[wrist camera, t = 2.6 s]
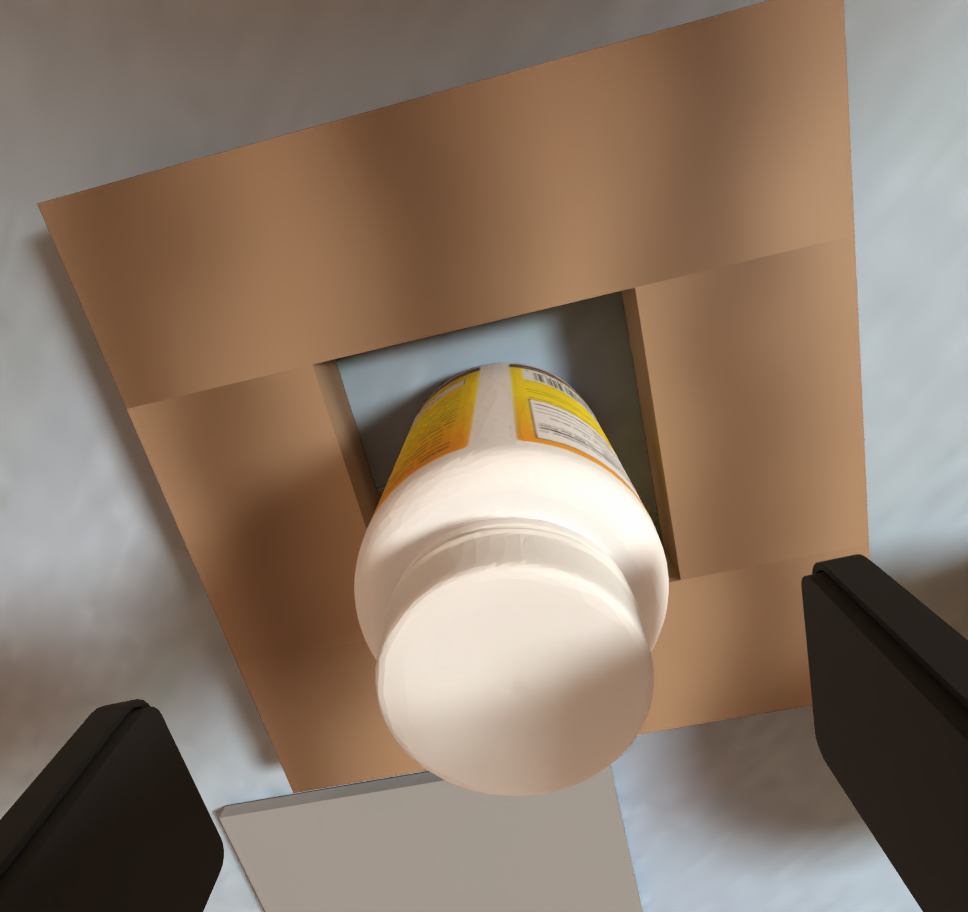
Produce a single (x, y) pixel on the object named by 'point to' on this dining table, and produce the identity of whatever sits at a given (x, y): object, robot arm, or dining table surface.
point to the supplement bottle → (511, 588)
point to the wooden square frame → (494, 296)
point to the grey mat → (436, 849)
